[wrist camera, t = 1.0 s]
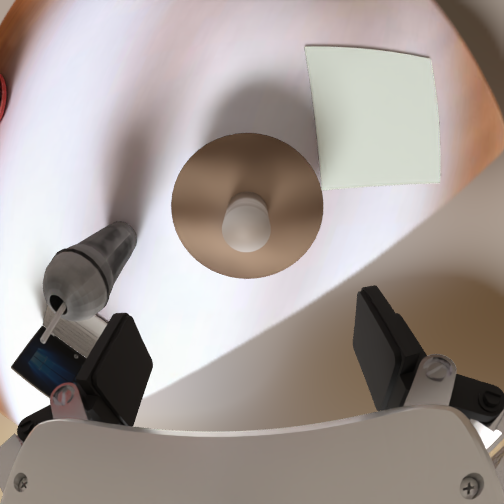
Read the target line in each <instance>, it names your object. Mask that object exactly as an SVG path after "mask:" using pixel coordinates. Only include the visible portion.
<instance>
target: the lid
mask: <svg viewBox="0 0 504 504" xmlns="http://www.w3.org/2000/svg"><path fill="white" fill-rule="evenodd" d="M171 209H172V218H173V223H174V226H175V230H176V232H177V234H178V237H179V239H180V240H181V242H182V244H183V245H184V247H185V248H186V249H187V251H188V252H189V253H190V254H191V255H192V256H193V257H194V258H195V259H196V260H197V261H198V262H200V263H201V264H202V265H204V266H205V267H207V268H209V269H211V270H212V271H215V272H217V273H219V274H222V275H226V276H229V277H234V278H244V279H251V278H261V277H266V276H269V275H273V274H276V273H278V272H280V271H282V270H284V269H286V268H288V267H289V266H291V265H292V264H294V263H295V262H296V261H298V260H299V259H300V258H301V257H302V256H303V255H304V254H305V253H306V252H307V250H308V249H309V248H310V247H311V245H312V243H313V242H314V240H315V238H316V236H317V234H318V231H319V229H320V225H321V222H322V216H323V196H322V190H321V187H320V183H319V181H318V178H317V176H316V174H315V172H314V170H313V169H312V167H311V166H310V164H309V163H308V162H307V161H306V159H305V158H304V157H303V156H302V155H301V154H300V153H299V152H298V151H297V150H295V149H294V148H292V147H291V146H290V145H288V144H286V143H284V142H282V141H280V140H278V139H276V138H273V137H270V136H267V135H262V134H256V133H239V134H233V135H228V136H224V137H222V138H219V139H216V140H214V141H212V142H210V143H208V144H206V145H205V146H203V147H202V148H201V149H199V150H198V151H197V152H196V153H195V154H194V155H193V156H192V157H191V158H190V159H189V160H188V161H187V162H186V164H185V165H184V166H183V168H182V170H181V171H180V173H179V175H178V177H177V180H176V182H175V185H174V189H173V193H172V202H171Z"/></svg>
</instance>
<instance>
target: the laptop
mask: <svg viewBox="0 0 504 504" xmlns="http://www.w3.org/2000/svg"><path fill="white" fill-rule="evenodd" d="M54 316H55V313H54V312H53V311H52V310H51V308H50V307H49V305H47V309H46V313H45V317H44V321H43V326H41V328H40V329H39V330H38V331H37V333H36V334H35V335H34V336H33V338H32V339H31V340H30V342H29V343H28V344H27V346H26V347H25V348H24V350H23V351H22V352H21V354H20V355H19V357H18V358H17V359H16V361H15V362H14V364H13V365H12V366H11V368H12V369H13V370H14V371H15V372H16V373H17V374H19V375H20V376H21V377H22V378H23V379H25V380H26V381H27V382H28V383H30V384H31V385H32V386H34V387H35V388H36V389H38V390H39V391H40V392H42V393H43V394H44V395H46V396H47V397H49V398H50V396H51V393H52V392H53V390H54V389H55V388H56V387H57V386H59V385H61V384H63V383H69V382H70V383H73V384H75V385H76V384H77V381H76V379H75V378H76V376H77V375H78V373H79V371H80V369H81V367H82V366H83V364H84V362H85V360H86V359H87V357H88V355H89V354H90V352H91V350H92V349H93V347H94V345H95V343H96V342H97V340H98V339H99V337H100V335H101V334H102V332H103V330H104V329H105V327H106V326H107V324H108V323H106V322H105V321H103V320H102V319H101V318H99V317H98V316H96V315H94V316H93V317H92V318H90V319H87V320H83V321H79V322H75V321H68V320H65V319H63V318H61V317H60V319H59V320H58V322H57V324H56V325H55V327H54V329H53V330H52V332H51V334H50V336H49V337H48V339H47V341H46V343H44V344H43V343H42V342H41V341H40V339H41V337H42V335H43V333H44V332H45V330H46V328H47V327H48V325H49V324H50V322H51V320H52V319H53V317H54ZM44 326H45V327H46V328H45V327H44ZM55 335H56V336H55ZM58 337H59V338H60V339H59V338H58ZM62 340H63V341H64V342H63V341H62ZM66 343H67V344H68V345H67V344H66ZM70 346H71V347H70ZM74 349H75V350H74ZM77 351H78V352H77ZM81 354H82V355H81ZM84 356H85V357H84Z"/></svg>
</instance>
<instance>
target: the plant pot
mask: <svg viewBox="0 0 504 504" xmlns="http://www.w3.org/2000/svg"><path fill="white" fill-rule="evenodd" d="M6 95H7V92H6V84H5V80H4V78H3V76H2V75H1V74H0V121H1V118H2V116H3V113H4V109H5V104H6Z"/></svg>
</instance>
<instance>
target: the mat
mask: <svg viewBox="0 0 504 504" xmlns="http://www.w3.org/2000/svg"><path fill="white" fill-rule="evenodd" d="M304 50H305V56H306V61H307V68H308V74H309V80H310V87H311V94H312V101H313V109H314V117H315V126H316V135H317V144H318V154H319V166H320V178H321V190H333V189H345V188H358V187H371V186H387V185H406V184H430V183H440V132H439V117H438V106H437V96H436V88H435V81H434V75H433V69H432V63H431V59H429V58H424V57H419V56H414V55H408V54H402V53H396V52H389V51H381V50H373V49H362V48H348V47H304Z"/></svg>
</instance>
